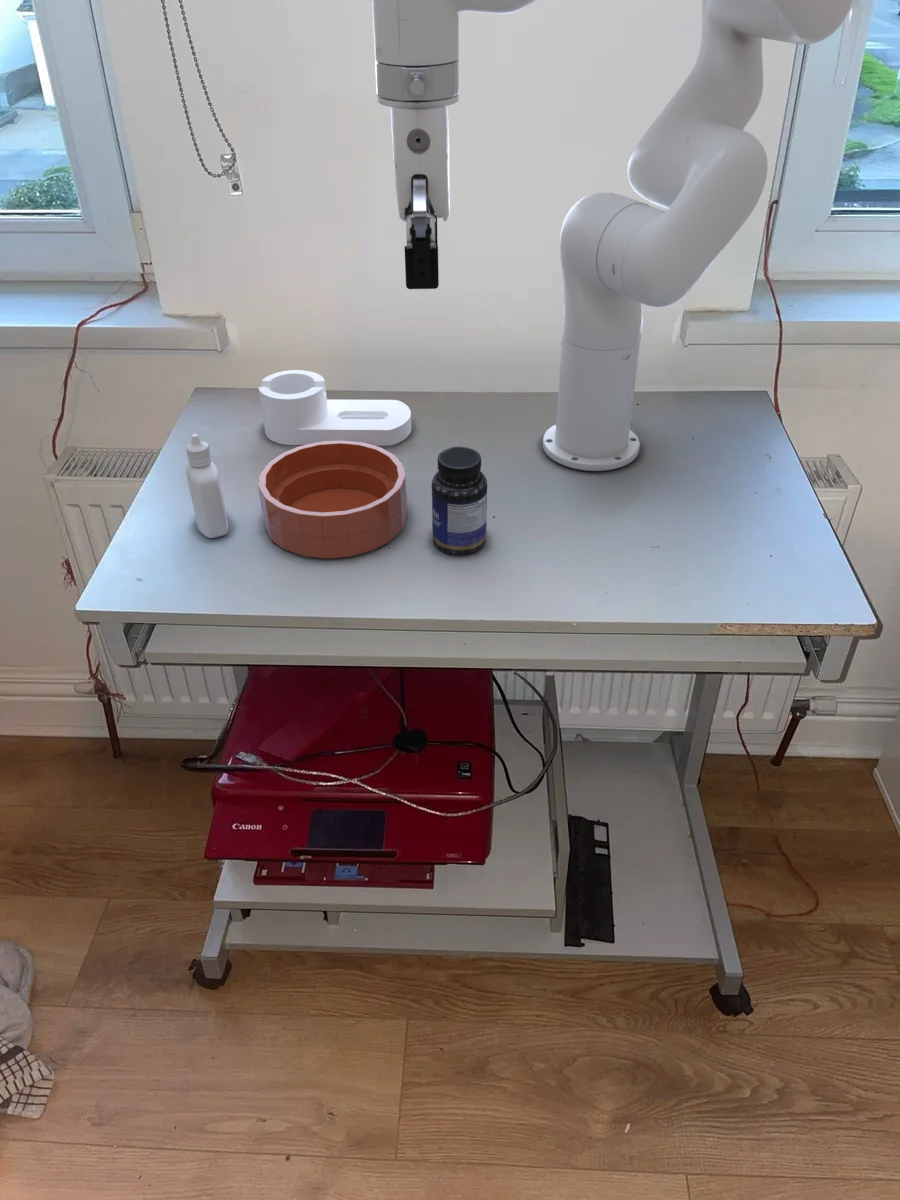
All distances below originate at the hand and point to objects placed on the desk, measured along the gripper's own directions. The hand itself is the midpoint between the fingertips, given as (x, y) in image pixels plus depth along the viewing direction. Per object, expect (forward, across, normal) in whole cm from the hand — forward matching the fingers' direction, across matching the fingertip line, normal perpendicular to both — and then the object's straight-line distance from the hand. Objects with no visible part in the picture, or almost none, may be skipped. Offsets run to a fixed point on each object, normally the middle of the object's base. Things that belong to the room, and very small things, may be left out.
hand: (422, 270), depth 97 cm
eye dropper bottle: (+28, -4, +25) cm, 38 cm away
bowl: (+28, -3, +11) cm, 30 cm away
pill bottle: (+28, -8, -4) cm, 30 cm away
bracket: (+28, +19, +12) cm, 37 cm away
